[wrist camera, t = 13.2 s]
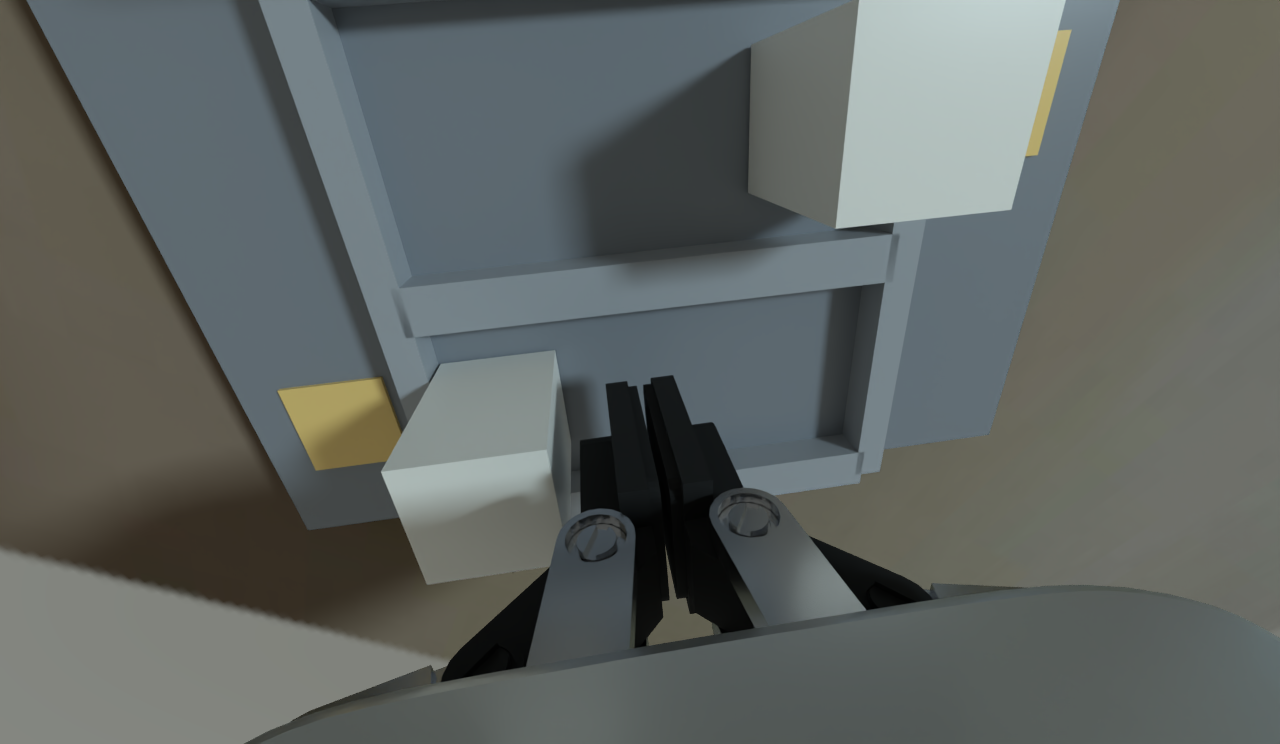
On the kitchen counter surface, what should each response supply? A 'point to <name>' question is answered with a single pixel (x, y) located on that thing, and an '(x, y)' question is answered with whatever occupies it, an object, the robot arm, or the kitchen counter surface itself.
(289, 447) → the switch board
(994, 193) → the tab
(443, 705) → the robot arm
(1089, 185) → the kitchen counter surface
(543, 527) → the tab
